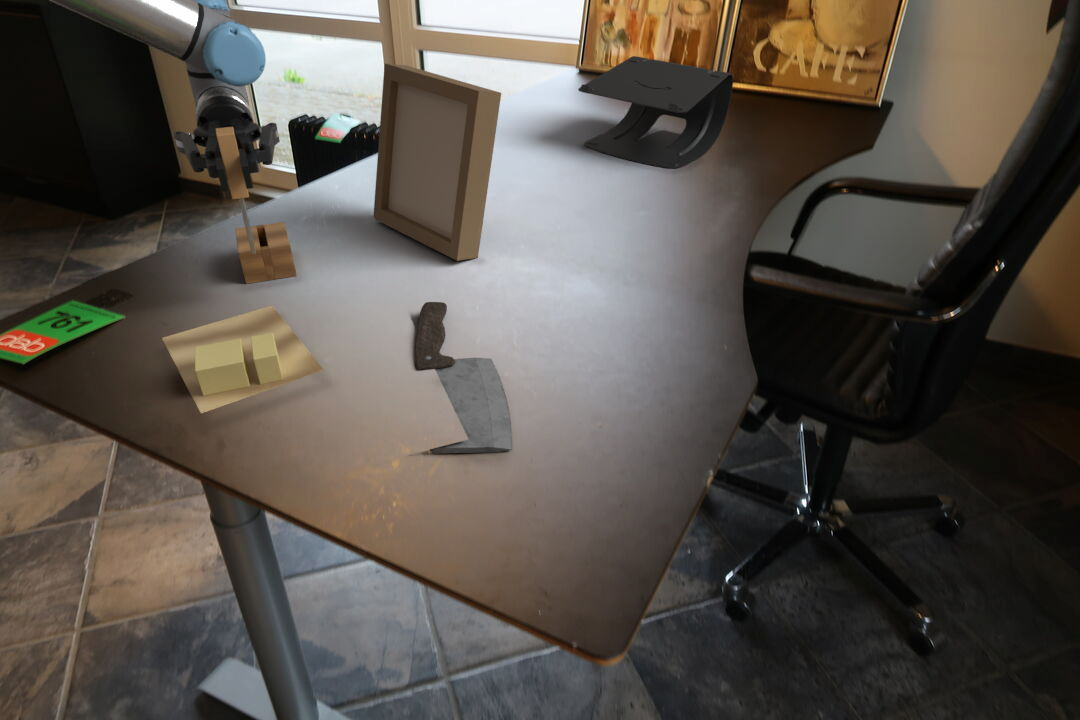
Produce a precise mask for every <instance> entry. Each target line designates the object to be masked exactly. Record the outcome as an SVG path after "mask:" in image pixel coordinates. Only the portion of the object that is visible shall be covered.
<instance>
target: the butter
mask: <svg viewBox="0 0 1080 720" xmlns="http://www.w3.org/2000/svg"><path fill="white" fill-rule="evenodd" d="M195 372H196V375H197V378H198V381H199V384H200V387H201V390H202V393H203V396H206V395H210V394H215V393H220V392H225V391H230V390H235V389H240V388H244V387H249V386H250V383H249V374H248V365H247V360H246V356H245V353H244V349H243V346H242V342H241V339H236V340H230V341H225V342H220V343H214V344H209V345H203V346H198V347H195Z"/></svg>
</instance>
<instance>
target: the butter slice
mask: <svg viewBox="0 0 1080 720" xmlns="http://www.w3.org/2000/svg"><path fill="white" fill-rule="evenodd" d="M251 344H252V352H253V359H254V363H255V367H256V371H257V374H258V378H259V382H260V384H264V383H269V382H274V381H278V380H283V378H282V372H281V367H280V361H279V356H278V352H277V347H276V343H275V339H274V335H273V333H268V334H263V335H257V336H252V337H251Z"/></svg>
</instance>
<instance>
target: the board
mask: <svg viewBox="0 0 1080 720" xmlns="http://www.w3.org/2000/svg"><path fill="white" fill-rule="evenodd" d="M268 333H273V335H274V339H275V343H276V347H277V352H278V356H279V361H280V367H281V372H282V378H283V380H278V381H274V382H269V383H264V384H260V382H259V378H258V374H257V371H256V367H255V363H254V359H253V352H252V344H251V337H252V336H257V335H263V334H268ZM236 339H241V342H242V346H243V349H244V353H245V356H246V360H247V365H248V374H249V383H250V386H249V387H244V388H240V389H235V390H230V391H225V392H220V393H215V394H210V395H206V396H203V393H202V390H201V387H200V384H199V381H198V378H197V375H196V372H195V347H198V346H203V345H209V344H214V343H220V342H225V341H230V340H236ZM161 340H162V342H163V344H164V346H165V348H166V350H167V351H168V354H169V355H170V358H171V360H172V361H173V363H174V365H175V367H176V369H177V371H178V373H179V374H180V376H181V379H182V380H183V381H182V382H184V384H185V387H186V388H187V391H188V392H189V394H190V396H191V398H192V400H193V402H194V404H195V405H196V407H197V409H198V411H199V413H200V414H203V413H206V412H209V411H212V410H215V409H218V408H221V407H223V406H226V405H229V404H232V403H235V402H238V401H240V400H243V399H246V398H250V397H252V396H255V395H257V394H261V393H263V392H266V391H269V390H272V389H275V388H278V387H280V386H283V385H286V384H288V383H292V382H294V381H297V380H301V379H303V378H305V377H309V376H311V375H314V374H317V373H319V372H323V371H324V368H323V367H322V366H321V364H320V363H319V362H318V360H317V359H316V358H315V357H314V356H313V354H312V353H311V352H310V351H309V349H308V348H307V346H306V345H305V344H304V343H303V342H302V341H301V339H300V338H299V337H298V335H297V334H296V333H295V332H294V330H292V328H291V327H290V325H289V324H288V323H287V322H286V320H285V319H284V318H283V317H282V315H281V314H280V313H279V312H278V311H277V309H276V308H275V307H274V305H269V306H266V307H262V308H259V309H256V310H252V311H248V312H245V313H241V314H238V315H234V316H231V317H228V318H224V319H222V320H218V321H214V322H211V323H208V324H205V325H201V326H197V327H194V328H190V329H187V330H184V331H180V332H177V333H173V334H171V335H167V336H164V337H161Z"/></svg>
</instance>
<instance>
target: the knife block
mask: <svg viewBox="0 0 1080 720" xmlns="http://www.w3.org/2000/svg"><path fill="white" fill-rule="evenodd" d="M250 227H251V231H252V235H253V240H254V246H255V251H256V254H252V252H251V248H250V244H249V240H248V236H247V232H246V228H245V226H244V227H237V228H236V227H235V228H234V230H235V238H236V247H237V253H238V258H239V262H240V266H241V269H242V274H243V277H244V280H245V284H246V285H248V284H249V285H250V284H254V283H261V282H267V281H274V280H279V279H285V278H291V277H297V271H296V267H295V261H294V257H293V252H292V247H291V243H290V239H289V235H288V231H287V227H286V224H285V221H279V222H273V223H272V222H271V223H265V224H258V225H256V224H255V225H250Z"/></svg>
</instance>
